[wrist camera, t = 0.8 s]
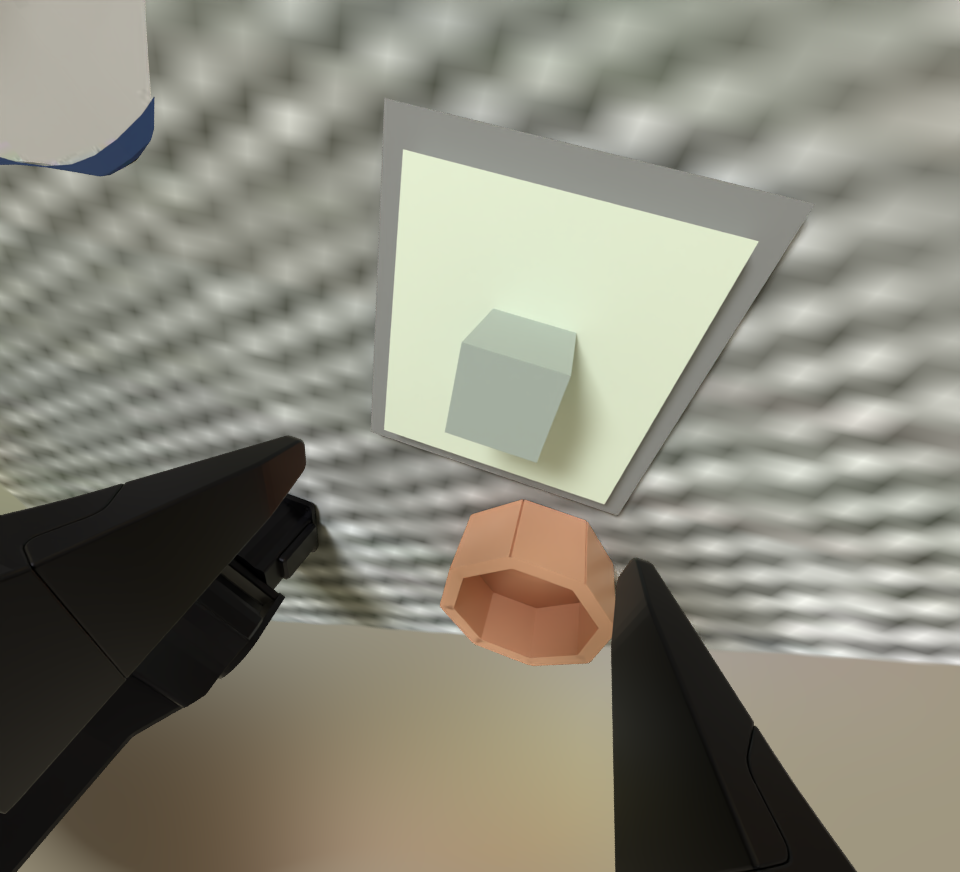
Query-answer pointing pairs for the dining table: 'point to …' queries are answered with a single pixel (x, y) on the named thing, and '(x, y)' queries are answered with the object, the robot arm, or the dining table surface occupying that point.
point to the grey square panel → (596, 179)
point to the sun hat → (74, 84)
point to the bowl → (532, 585)
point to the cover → (542, 321)
